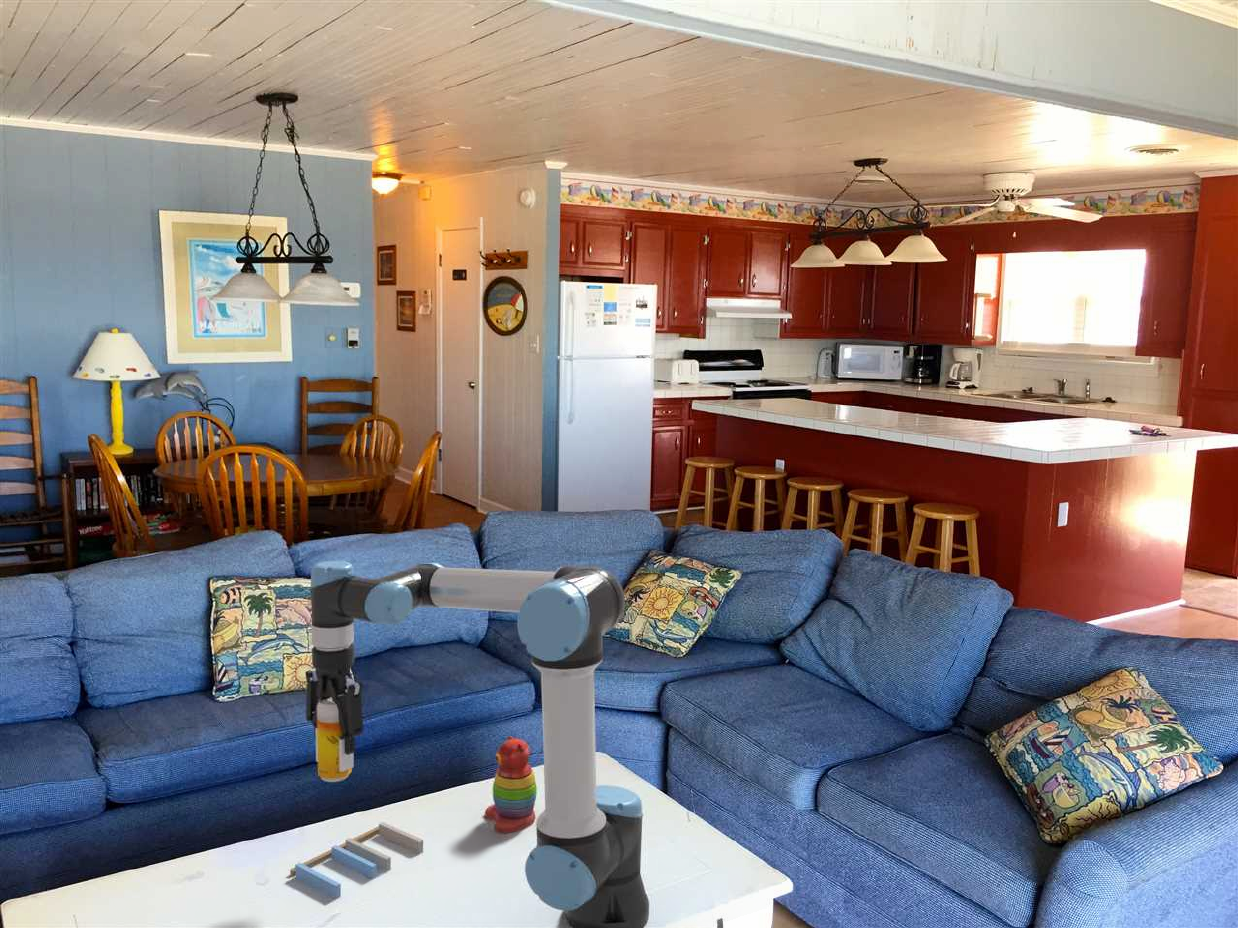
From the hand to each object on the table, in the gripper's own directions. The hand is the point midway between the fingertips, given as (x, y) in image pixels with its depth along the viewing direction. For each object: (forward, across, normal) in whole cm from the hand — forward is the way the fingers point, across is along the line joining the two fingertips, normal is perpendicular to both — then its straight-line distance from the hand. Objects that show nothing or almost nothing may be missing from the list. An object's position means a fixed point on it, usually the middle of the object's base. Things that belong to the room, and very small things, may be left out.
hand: (334, 763), depth 189 cm
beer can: (+3, 0, 0) cm, 3 cm away
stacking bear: (+23, -11, -38) cm, 46 cm away
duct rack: (+23, 0, -6) cm, 23 cm away
